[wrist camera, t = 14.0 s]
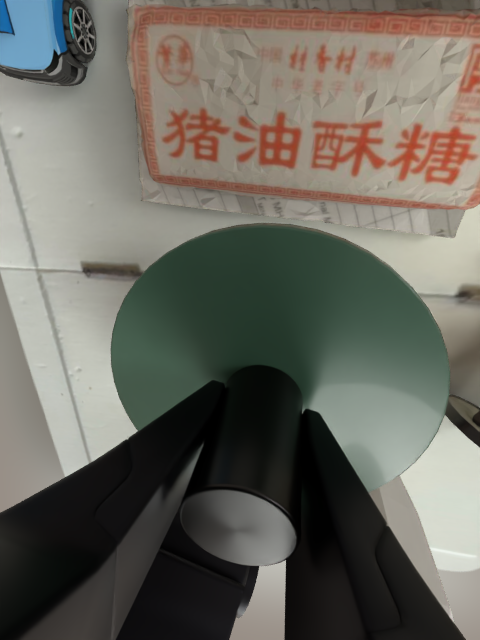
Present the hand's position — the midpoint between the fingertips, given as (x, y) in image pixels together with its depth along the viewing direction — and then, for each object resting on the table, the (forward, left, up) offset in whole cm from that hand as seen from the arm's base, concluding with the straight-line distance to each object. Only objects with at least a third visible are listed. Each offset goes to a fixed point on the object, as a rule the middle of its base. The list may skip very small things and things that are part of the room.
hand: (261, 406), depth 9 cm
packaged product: (+9, +2, -13) cm, 16 cm away
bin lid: (0, 0, -1) cm, 1 cm away
